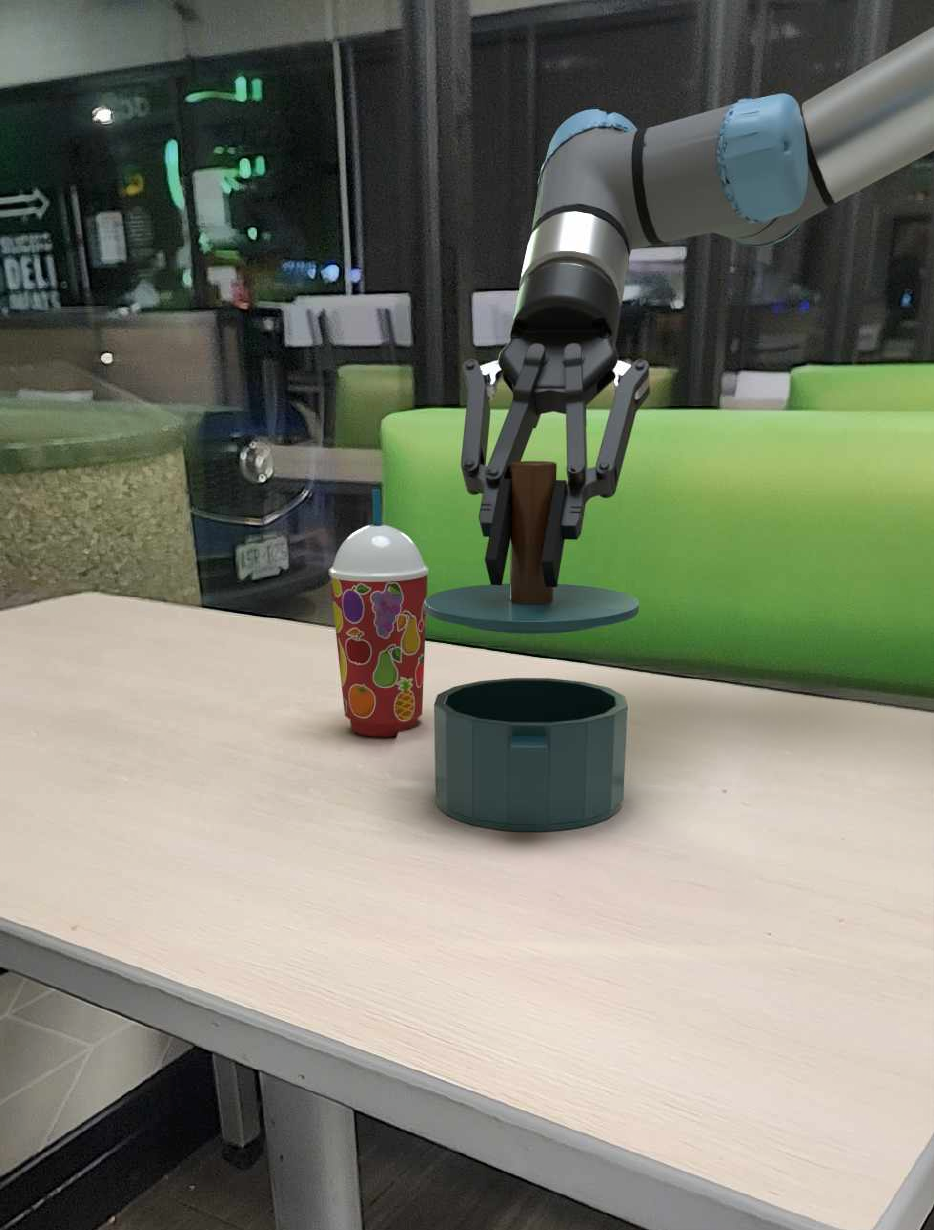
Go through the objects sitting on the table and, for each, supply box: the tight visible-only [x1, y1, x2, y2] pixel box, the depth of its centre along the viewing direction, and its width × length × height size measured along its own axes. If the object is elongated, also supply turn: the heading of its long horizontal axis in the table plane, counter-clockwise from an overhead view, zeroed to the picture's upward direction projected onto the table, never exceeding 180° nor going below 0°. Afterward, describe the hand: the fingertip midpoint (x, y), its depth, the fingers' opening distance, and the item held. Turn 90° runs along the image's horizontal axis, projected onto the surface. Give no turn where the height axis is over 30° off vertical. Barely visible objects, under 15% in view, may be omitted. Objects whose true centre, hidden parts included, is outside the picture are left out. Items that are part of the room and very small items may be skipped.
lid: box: [425, 460, 640, 635], centre depth 86 cm, size 15×15×10 cm
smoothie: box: [328, 489, 430, 738], centre depth 107 cm, size 8×8×20 cm
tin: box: [433, 677, 629, 833], centre depth 91 cm, size 14×19×8 cm
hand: (521, 572), depth 83 cm, fingers closed on lid, 3 cm apart
